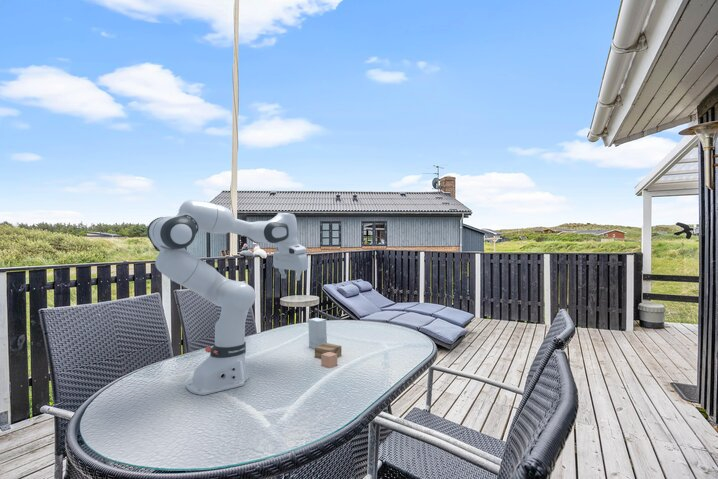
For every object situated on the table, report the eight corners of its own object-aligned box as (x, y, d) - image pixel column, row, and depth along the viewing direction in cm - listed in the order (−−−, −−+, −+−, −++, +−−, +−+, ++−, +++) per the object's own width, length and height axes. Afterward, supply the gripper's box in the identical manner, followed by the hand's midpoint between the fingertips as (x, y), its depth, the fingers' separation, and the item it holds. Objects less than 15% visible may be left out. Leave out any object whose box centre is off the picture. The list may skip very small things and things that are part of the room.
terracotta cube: (329, 368, 155) (329, 356, 155) (321, 365, 159) (321, 354, 159) (337, 365, 159) (337, 354, 159) (329, 362, 162) (329, 351, 162)
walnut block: (330, 361, 165) (330, 350, 165) (314, 358, 169) (314, 347, 169) (341, 356, 172) (341, 345, 172) (326, 353, 177) (326, 342, 177)
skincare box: (327, 348, 184) (327, 319, 184) (317, 351, 179) (318, 321, 179) (317, 345, 190) (317, 316, 190) (307, 347, 185) (308, 318, 186)
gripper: (268, 248, 164) (270, 278, 165) (298, 250, 151) (300, 282, 152) (279, 246, 169) (281, 275, 170) (309, 248, 156) (311, 280, 157)
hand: (290, 279), depth 161 cm, fingers open, 8 cm apart
